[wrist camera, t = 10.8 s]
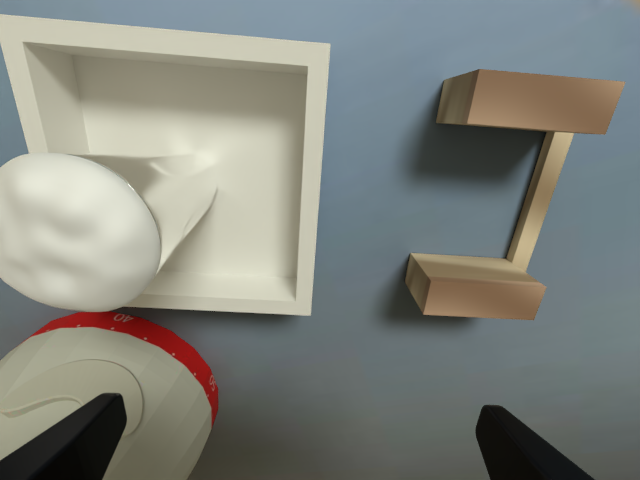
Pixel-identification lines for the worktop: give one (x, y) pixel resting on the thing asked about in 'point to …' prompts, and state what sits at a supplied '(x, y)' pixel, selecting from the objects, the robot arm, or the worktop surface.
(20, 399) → the kitchen timer
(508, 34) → the worktop surface
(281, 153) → the tray
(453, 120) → the wooden joined piece
